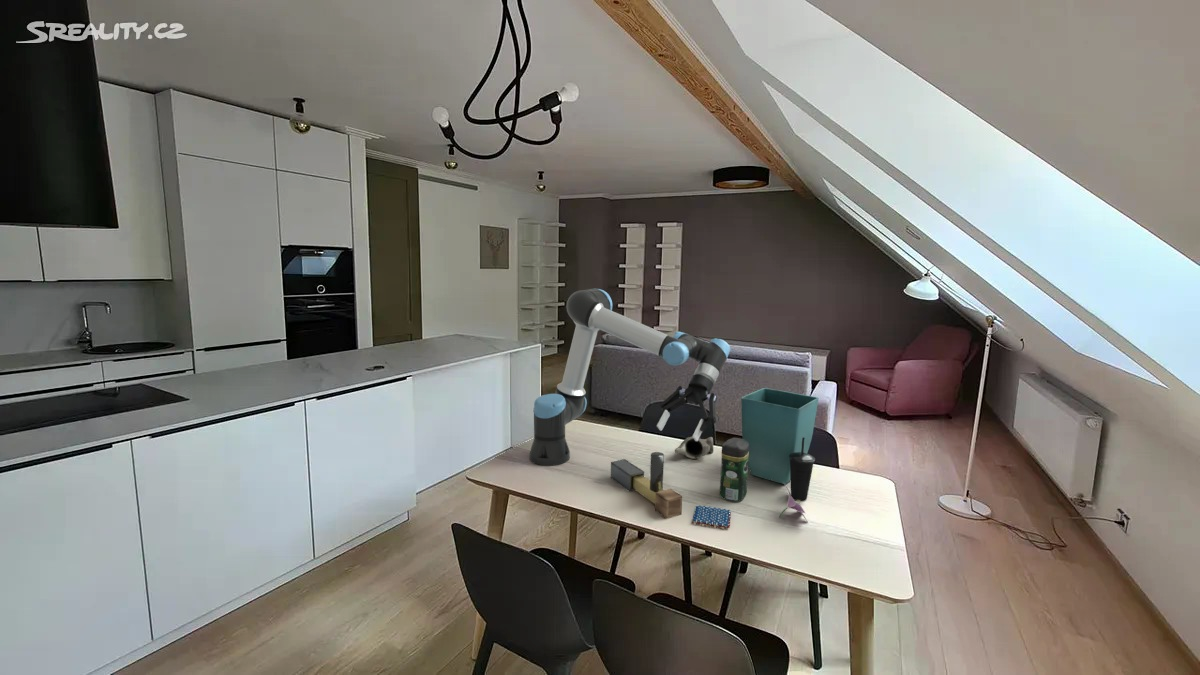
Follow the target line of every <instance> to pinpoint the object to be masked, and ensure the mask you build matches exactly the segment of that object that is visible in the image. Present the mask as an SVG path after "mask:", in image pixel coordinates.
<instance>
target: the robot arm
mask: <svg viewBox="0 0 1200 675" xmlns="http://www.w3.org/2000/svg"><path fill="white" fill-rule="evenodd" d="M566 312H567V314H568V316H569V317H570V318H571V320H572V321H573V323H574V325H575V329H574V332H573V337H572V340H571V344H570V349H569V352H568V357H567V361H566V365H565V369H564V373H563V377H562V381H561V382H560V383H558V384H557V385H556V389H555V393H547V394H543V395H540V396H538V397H537V398H536V399H535V400H534V402H533V431H534V432H533V441H532V443H531V444H532V445H531V447H530V450H529V460H530V462H532V463H533V462H534V463H533V464H535V463H536V465H539V466H558V465H562V464H564V463H566V462H568V461H569V460H570V458H571V453H570V448H569V445H568V442H567V439H566V425H567V424H569V423H571V422H572V421H574V420H576V419H578V418H579V417H581V416H582V414H583V413H584V412H585V411H586V408H587V404H588V402H587V398H586V394H587V392H586V390H585V388H584V385H585V381H586V379H587V374H588V370H589V367H590V362H591V359H592V358H591V357H592V355H593V351H594V346H595V343H596V340H597V336H598V332H599V331H602V332H605V333H607V334H610V335H611V336H613V337H616V338H618V339H620V340H622V341H625V342H627V343H629V344H632V345H634V346H636V347H638V348H640V349H642V350H645V351H648V352H649V353H651V354H654V355H656V356H657V357H660V358H663V360H664V362H666V364H668V365H669V366H679V365H682V364H684V363H685V362H687V360H689V359H690V360H692V361H695V362H697V363H698V362H699V364H697V367H696V369H695V371H694V372H693V375H692V376H691V378H690V381H689V382H688V386H687V388H684V387H682V385H679V386H678V387H677V388H676V390H675V391H674V392H672V393H671V394H670V395H669V396H668V397H666V398H665V399H664V400H663V401H662V402H661V403H660V404H659V407H660V408H661V410H662V411H661V413H660V414H659V417H658V418H659V421H658V422H657V424H656V428H657V429H658V430H659V431H663V429H664V427H665V425H666V424H667V421H668V420H669V418H670V416H671V413H670V412H673V411H674V410H676V409H677V408H680V407H681V406H684V405H686V404H691V405H695V406H699V408H700V411H701V415H702V417H703V418H700V420H699V422H698V424H697V426H696V428H695V430H694V433H693V434H692V436H691V437H693V438H694V440H695V441H698V439H699V438H701V435H702V433H705V432H706V430H707V428H708V427H709V426H708V425H709V424H716V422H717V420H716V419H717V418H716V417H717V415H716V401H717V396H716V394H715V393H714V392H711V391H712V389H713V388H714V385H715V383H716V381H717V379H718V377H719V375H720V373H721V371H722V369H723V367H724V365H725V364H726V362H727V359H728V357H729V354H730V353H731V346H730V344H729V343H728V342H726V341H725V340H724V339H721V338H712V339H711V340H710V341H705V340H702V339H700V338H697V337H695V336H693V335H690V334H688V332H687V333H685V332H681V331H677V332H675V333H674V334H673V336H670V335H669V334H666V333H665V332H662V331H659V330H657V329H655V328H652V327H651V326H648V325H645V324H643V323H641V322H639V321H637V320H634V319H632V318H629V317H627V316H625V315H623V314H620V313H618V312H615V311H613V301H612V298H611V296H610V294H609V293H608V292H606V291H605V290H603V289H600V288H590V289H583V290H580V289H579V290H577V291H575V292H573V293H572V294H571V295H570V296H569V297H568V299H567V302H566ZM706 400H708V407H709V408H708V410H709V415H708V412H707V409H706V405H705V401H706Z"/></svg>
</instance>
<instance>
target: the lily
mask: <svg viewBox="0 0 1200 675" xmlns="http://www.w3.org/2000/svg"><path fill="white" fill-rule="evenodd" d="M782 482H783V481H782ZM783 483H784V482H783ZM783 485H784V486H785V488H786V489H787V492H786V494H787V495H788V498H787V506H786V507H785V508H784V509H783V511H782V512H781V514H780V515H779V516H778V518H779V519H780V518H781V517H782V515H783V514H784V512H785V511H786V510H787V509H792V510H794V511H796V512H798V513H800V514H801V515H802V517H803V518H804V520H805V521H806V522H808V520H807V518H806V517H805V515H806V512H805V510H804V508H803V507H802V506H801V504H800V503H799V501H798V500H795V499H793V498H792V496H791V490H790V489H789V488H788V486H787V484H783ZM804 514H805V515H804Z"/></svg>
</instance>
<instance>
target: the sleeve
mask: <svg viewBox="0 0 1200 675" xmlns="http://www.w3.org/2000/svg"><path fill="white" fill-rule="evenodd" d="M640 474H641V475H642V476H644V477H645V471H644V470H642V469H641V468H640V467H638V466H636V465H635V464H633V463H632V462H630V461H629V460H628V459H626V458H623V459H617V460H613V461H610V479H612V480H613V481H614V482H616V484H619V486H621V487H622V488H624V489H625V490H627V491H628V492H630V493H631V492H634V491H636V490H635V489H633V488H632V487H631V482H632V476H635V475H640Z"/></svg>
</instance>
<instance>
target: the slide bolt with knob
mask: <svg viewBox="0 0 1200 675" xmlns="http://www.w3.org/2000/svg"><path fill="white" fill-rule="evenodd" d="M664 463H665V454H664V453H663V452H660V451H655V452H651V453H650V468H649V471H650V472H649V475H650V476H649V479H648V478H647V477H645V475H644V476H642V475H641V474H640V475H635V476H632V482H631V487H632V488H633V489H635V491H636V492H637V493H639V494H641V495H642V496H643V497H645V498H646V499H647V500H648V501H650V502H652V503H653V504H654V505H655V500H656V492H660V491H663V490H665V489H664V468H665V467H664V466H665V464H664Z"/></svg>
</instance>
